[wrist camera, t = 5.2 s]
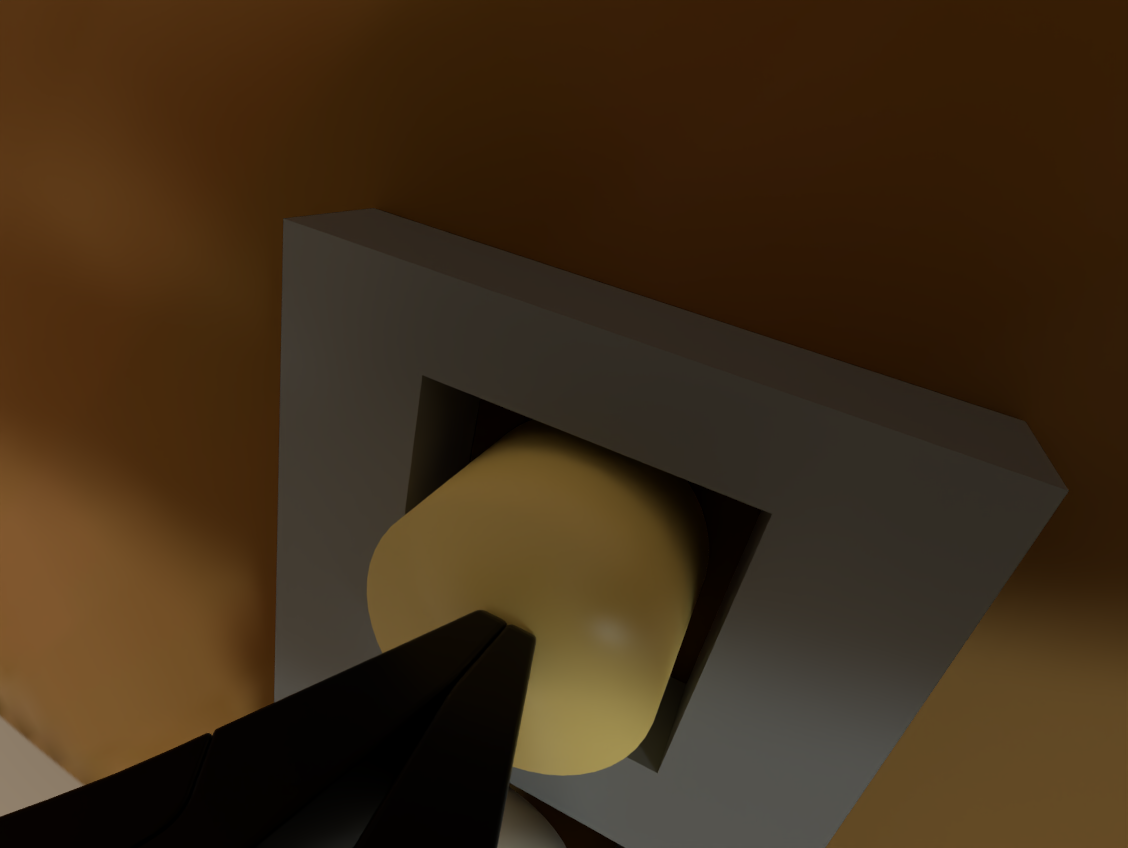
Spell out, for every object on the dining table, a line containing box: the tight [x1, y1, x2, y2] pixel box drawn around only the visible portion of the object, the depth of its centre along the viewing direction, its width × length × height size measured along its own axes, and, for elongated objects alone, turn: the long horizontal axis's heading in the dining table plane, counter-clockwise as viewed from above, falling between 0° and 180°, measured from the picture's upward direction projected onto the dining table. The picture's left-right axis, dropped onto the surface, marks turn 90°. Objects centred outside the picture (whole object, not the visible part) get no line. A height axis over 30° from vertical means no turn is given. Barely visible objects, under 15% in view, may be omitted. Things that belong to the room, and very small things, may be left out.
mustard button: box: [367, 420, 709, 776], centre depth 10 cm, size 4×4×3 cm
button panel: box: [274, 208, 1069, 848], centre depth 14 cm, size 10×22×2 cm, turn 167°
